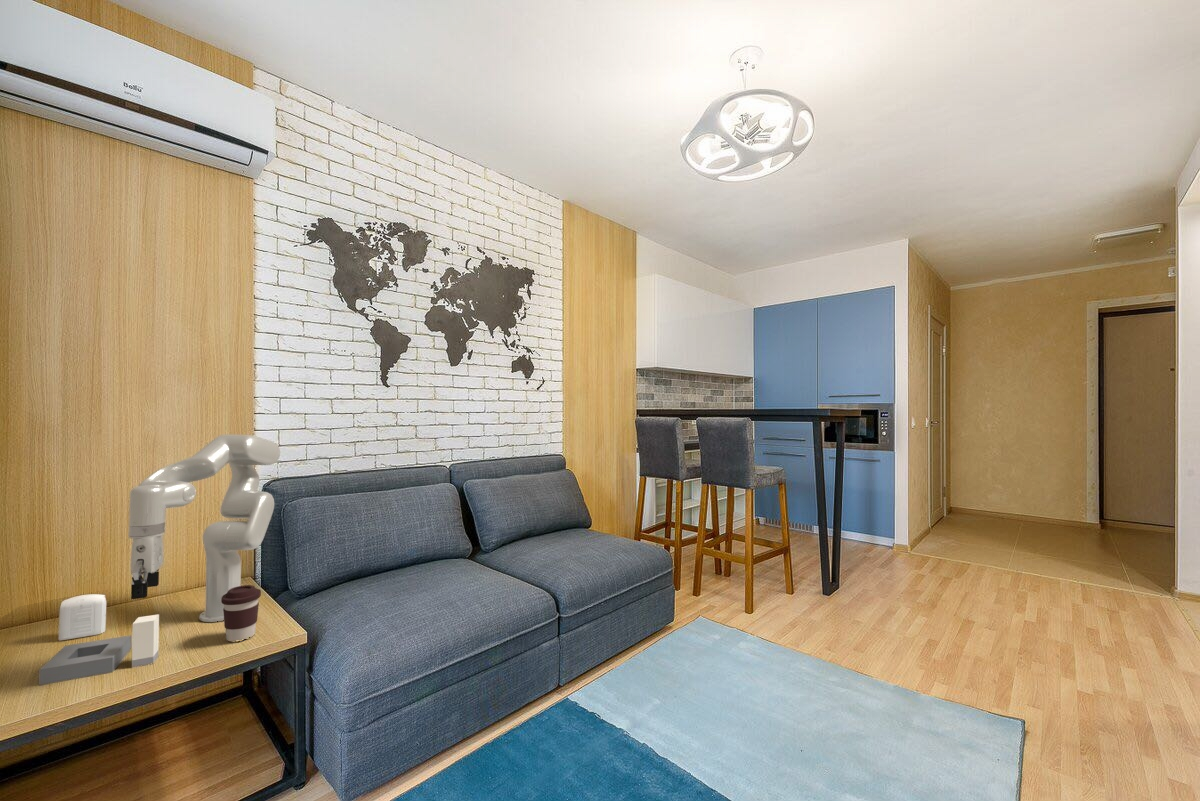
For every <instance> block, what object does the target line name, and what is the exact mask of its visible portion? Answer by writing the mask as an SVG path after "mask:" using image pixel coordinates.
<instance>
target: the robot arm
mask: <svg viewBox="0 0 1200 801" xmlns="http://www.w3.org/2000/svg"><path fill="white" fill-rule="evenodd" d="M280 456H281V450H280V447H279V445H278V444H277V443H276V442H274V441H273V440H269V439H265V438H263V437H260V436H257V435H253V434H222V435H217V436H216V437H215V438H214V439H213V440H211V441H210V442H208V444H206V445H205V446H204V447H202V448H201V449H200V450H198V451H197V452H196V453H194V454H193V455H192V456H191V457H188V458H185V459H182V460H181V459H180V460H179V461H177V462H174V463H171V464H169V465H166V466H164V467H161V468H159V469H157V470H155V471H154V472H152V473H151V474H150V475H149V476H148V477H146V478H144V479H143V480H142V481H141V482H140V483H139V484H138V485H137V486H135V487H132V488H131V489H130V492H129V512H128V514H129V515H128V517H129V519H128V539H132V543H131V554H130V574H131V575H132V576H131V584H130V585H131V590H130V592H131V593H130V599H131V600H137V599H145V598H147V597H148V590H149V589H148V588H151V587H153V588H154V587H157V586H159V585H160V583H159V580H160V571H159V570H160V568H161V567H162V566H163V565H164V540H163V539H164V536H163V535H165V534H166V512H167V510H166V509H171V508H181V507H184V506H187V505H189V504H190V503H192V502H193V500H195V498H196V496H197V489H196V487H195V486H194V484H192V482H198V481H202V480H206V479H208V478H212V477H214V476H216V474H217V473H219V472H220V471H221V470H222V469H223V468H224V467H225V466H226V465H227V464H229V467H230V471H231V479H230V483H229V485H228V488H227V490H226V492H225V494H224V498H223V500H222V502H221V505H220V509H219V510H220V515H221V516H222V517H224V518H227V519H231V520H221V521H220V520H219V521H216V522H213V523H210V524H209V525H207V526H206V528H205V529H204V531H203V534H202V543H203V548H204V552H205V561H206V563H205V610H204V611H203V612H201V613H200V614H199V615H198V616H199V620H200V621H201V622H204V623H216V622H217V621H218V622H224V621H223V620H224V612H223V609H224V604H222V602H221V598H222V596H223V595H225V594H226V593H227V592H228V591H229V590H230V589H232V588H234V587H238V586H242V578H241V577H242V574H241V573H242V558H241V556H240V553H239V552H238V551H251V550H252V551H253V550H255V549H257V548H259V547H260V546H261V545H262V543H263V541H264V538H265V535H266V533H267V530H268V527H269V524H270V522H271V519H272V516H273V513H274V509H275V499H274V496H273V495H272V493H269V492H267V491H263V490H262V491H258V489H259V485H260V480H261V479H260V476H259V474H258V472H257V471H256V469H255V467H254V466H271V465H274V464H276V463H277V462H278V461H279V459H280ZM232 519H234V520H232ZM235 519H236V520H235ZM242 519H243V520H244V521H242ZM245 520H247V521H245ZM218 622H217V623H218Z"/></svg>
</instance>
